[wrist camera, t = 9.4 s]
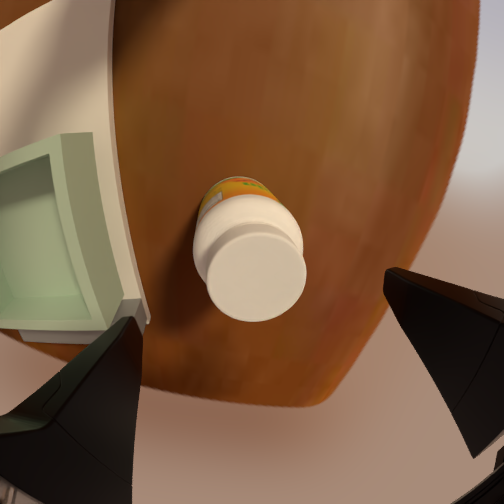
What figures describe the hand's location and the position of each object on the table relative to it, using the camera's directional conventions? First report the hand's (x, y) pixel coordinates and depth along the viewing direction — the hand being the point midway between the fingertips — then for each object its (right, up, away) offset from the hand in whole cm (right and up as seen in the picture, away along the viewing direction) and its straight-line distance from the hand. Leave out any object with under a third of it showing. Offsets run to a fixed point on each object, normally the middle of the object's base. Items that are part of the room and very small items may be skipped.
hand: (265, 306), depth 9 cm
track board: (-16, +9, +7) cm, 19 cm away
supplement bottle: (-1, +5, +11) cm, 12 cm away
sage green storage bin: (-15, +4, +8) cm, 18 cm away
